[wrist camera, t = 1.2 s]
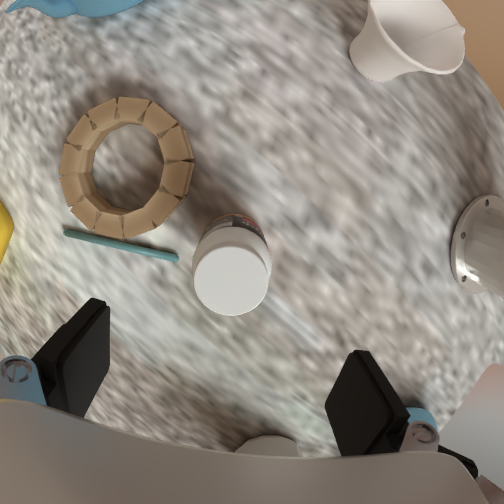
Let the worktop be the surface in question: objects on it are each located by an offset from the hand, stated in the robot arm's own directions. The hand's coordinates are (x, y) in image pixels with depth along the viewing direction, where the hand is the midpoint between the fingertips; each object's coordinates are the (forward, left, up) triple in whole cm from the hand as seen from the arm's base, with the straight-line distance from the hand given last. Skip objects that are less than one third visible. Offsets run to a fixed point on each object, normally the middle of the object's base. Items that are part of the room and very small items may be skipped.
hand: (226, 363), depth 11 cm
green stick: (+11, +2, -18) cm, 21 cm away
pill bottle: (0, 0, -18) cm, 18 cm away
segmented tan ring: (+11, -5, -18) cm, 22 cm away
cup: (-9, -22, -18) cm, 30 cm away
